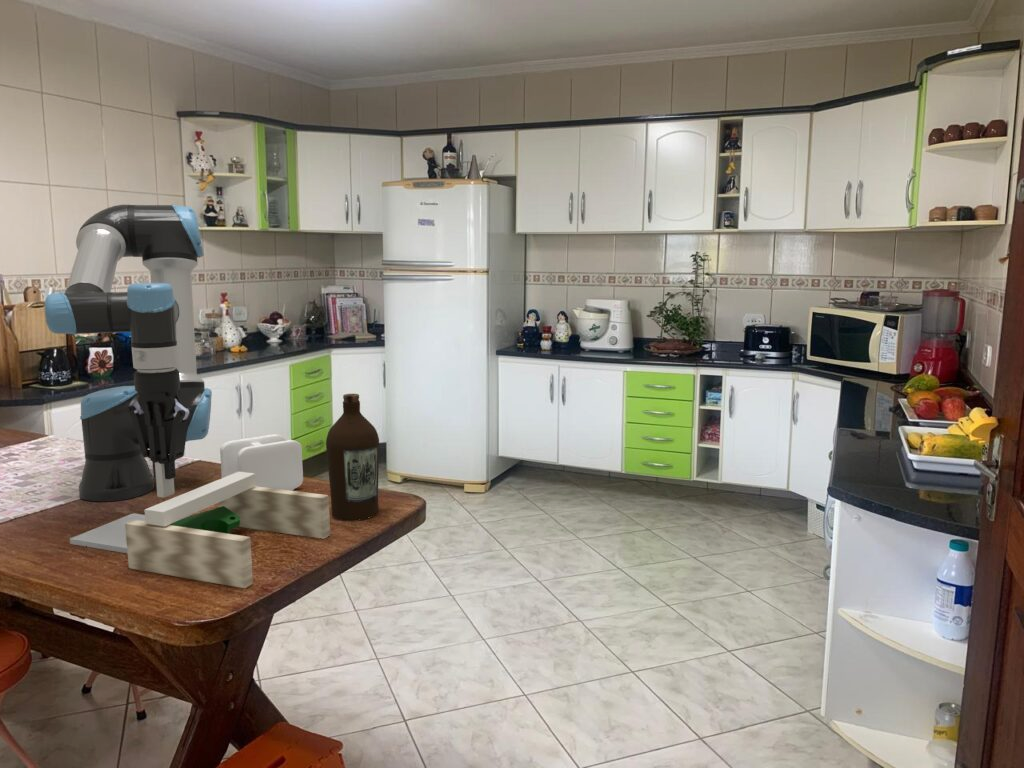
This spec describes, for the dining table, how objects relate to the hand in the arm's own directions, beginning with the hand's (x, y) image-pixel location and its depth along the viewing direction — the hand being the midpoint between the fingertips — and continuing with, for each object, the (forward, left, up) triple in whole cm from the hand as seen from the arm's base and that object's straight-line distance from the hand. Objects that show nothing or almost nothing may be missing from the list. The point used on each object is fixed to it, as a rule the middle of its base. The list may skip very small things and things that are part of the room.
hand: (166, 494), depth 145 cm
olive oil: (+25, +25, -9) cm, 36 cm away
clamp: (+8, 0, -9) cm, 13 cm away
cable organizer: (-3, +32, -9) cm, 34 cm away
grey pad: (-9, 0, -9) cm, 13 cm away
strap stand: (+15, 0, -9) cm, 17 cm away
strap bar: (+9, 0, -1) cm, 9 cm away
